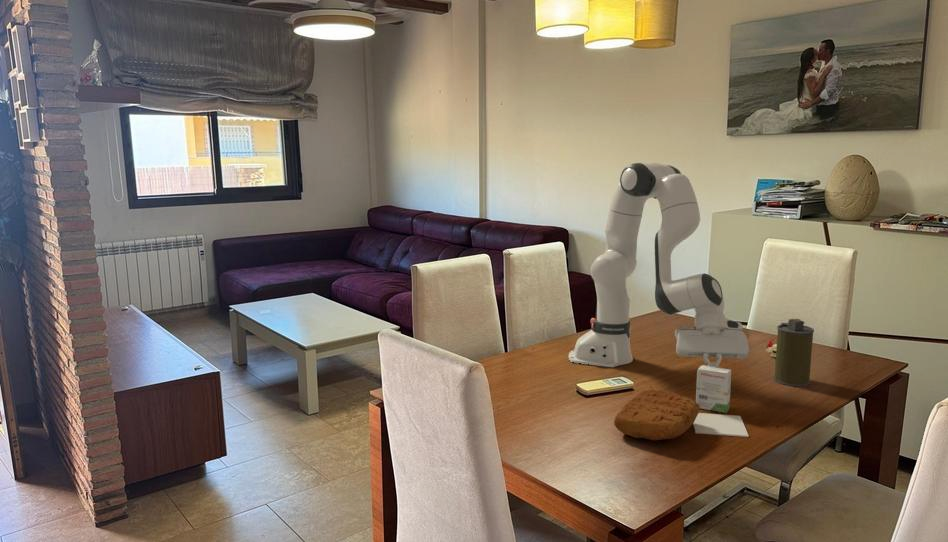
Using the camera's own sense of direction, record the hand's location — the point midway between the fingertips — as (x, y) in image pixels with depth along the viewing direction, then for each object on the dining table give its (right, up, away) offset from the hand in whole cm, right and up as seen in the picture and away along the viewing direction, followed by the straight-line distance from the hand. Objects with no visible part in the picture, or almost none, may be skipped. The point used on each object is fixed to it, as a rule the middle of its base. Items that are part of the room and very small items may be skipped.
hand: (713, 369), depth 187 cm
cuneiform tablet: (-21, -14, -17) cm, 30 cm away
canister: (+32, -7, +18) cm, 37 cm away
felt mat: (-4, -13, -14) cm, 19 cm away
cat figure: (+43, -1, +47) cm, 64 cm away
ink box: (-1, -11, -3) cm, 11 cm away
